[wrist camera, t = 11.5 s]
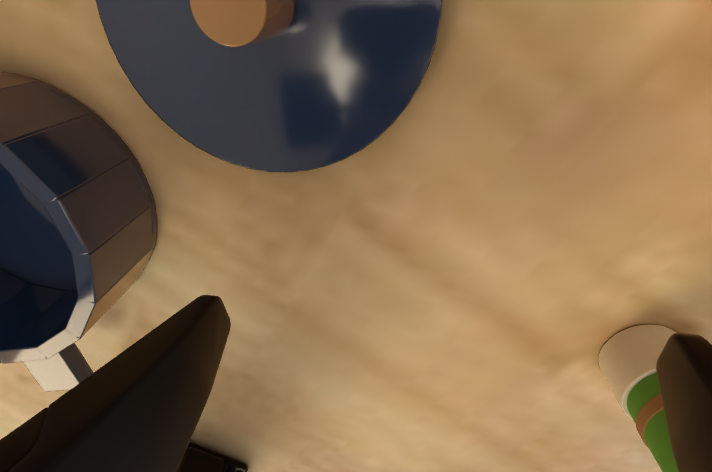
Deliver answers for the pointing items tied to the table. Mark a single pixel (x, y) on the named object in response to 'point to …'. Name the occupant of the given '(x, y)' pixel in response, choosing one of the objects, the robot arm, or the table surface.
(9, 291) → the pot
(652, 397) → the green cylindrical container
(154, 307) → the table surface
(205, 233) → the table surface
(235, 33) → the lid
